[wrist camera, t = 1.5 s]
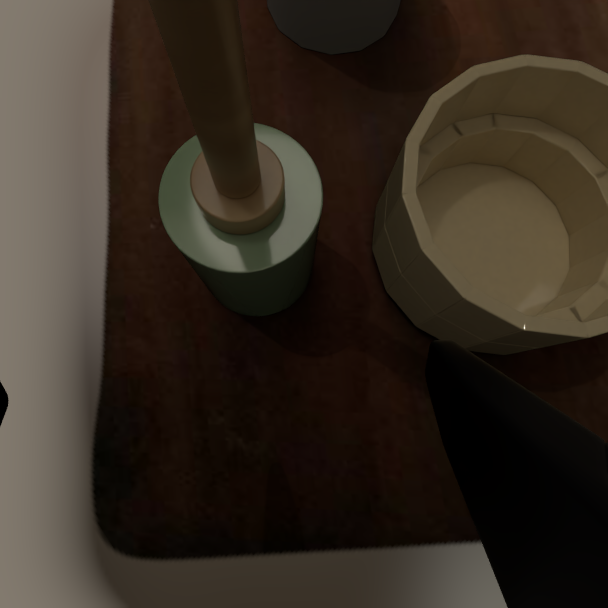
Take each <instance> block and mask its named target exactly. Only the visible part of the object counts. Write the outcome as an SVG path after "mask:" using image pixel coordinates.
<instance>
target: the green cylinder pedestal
mask: <svg viewBox="0 0 608 608" xmlns="http://www.w3.org/2000/svg"><path fill="white" fill-rule="evenodd" d="M254 129H255V136H256V140H258V141H260V142H262V143H263V144H265V145H267V146H268V147H269V148H270V149H271V150H272V151H273V152H274V153H275V154H276V155H277V157H278V158H279V160H280V162H281V164H282V167H283V170H284V177H285V199H284V204H283V207H282V209H281V211H280V213H279V215H278V216H277V217H276V219H275V220H274V221H273V222H272V223H270V224H269V225H268V226H267V227H265V228H263V229H261V230H259V231H257V232H254V233H250V234H241V235H239V234H230V233H226V232H223V231H221V230H219V229H217V228H215V227H214V226H212V225H211V224H210V223H209V222H208V221H207V220H206V219H205V218H204V216H203V215H202V213H201V211H200V209H199V207H198V205H197V203H196V201H195V199H194V197H193V194H192V191H191V187H190V174H191V170H192V167H193V164H194V162H195V160H196V159H197V157H198V156H199V154H200V153H201V152H202V149H201V146H200V143H199V140H198V137H197V135H195V136H194V137H192V138H191V139H190V140H188V141H187V142H186V143H185V144H184V145H183V146H181V147H180V148H179V149H178V151H177V152H176V153H175V154H174V155H173V157H172V158H171V160H170V161H169V163H168V165H167V167H166V169H165V171H164V173H163V176H162V180H161V183H160V188H159V210H160V216H161V219H162V222H163V225H164V227H165V229H166V231H167V234H168V235H169V237H170V238H171V240H172V241H173V243H174V244H175V245H176V247H177V248H178V249H179V251H180V252H181V253H182V255H183V256H184V257H185V259H186V260H187V261H188V263H189V264H190V265H191V267H192V268H193V269H194V271H195V272H196V273H197V275H198V276H199V277H200V279H201V280H202V281H203V283H204V284H205V285H206V287H207V288H208V289H209V291H210V292H211V293H212V295H213V296H214V297H215V298H216V299H217V300H218V301H219V302H220V303H221V304H222V305H224V306H225V307H227V308H228V309H230V310H232V311H234V312H237V313H240V314H243V315H249V316H265V315H270V314H274V313H277V312H279V311H281V310H283V309H286V308H287V307H289V306H290V305H292V304H293V303H294V302H295V301H296V300H297V299H298V298H299V297H300V296H301V295H302V293H303V292H304V290H305V289H306V287H307V285H308V283H309V280H310V277H311V273H312V268H313V261H314V255H315V249H316V243H317V237H318V231H319V224H320V218H321V212H322V206H323V188H322V182H321V178H320V175H319V172H318V170H317V167H316V165H315V164H314V162H313V160H312V158H311V157H310V156H309V154H308V153H307V152H306V150H305V149H304V148H303V147H302V146H301V145H300V144H299V143H298V142H296V141H295V140H294V139H293V138H291V137H290V136H288V135H287V134H285V133H283V132H281V131H279V130H277V129H275V128H272V127H269V126H266V125H262V124H256V123H254Z"/></svg>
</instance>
